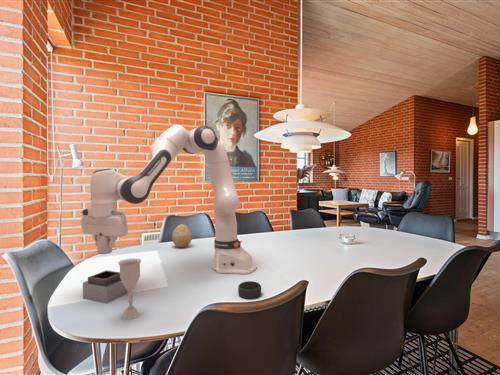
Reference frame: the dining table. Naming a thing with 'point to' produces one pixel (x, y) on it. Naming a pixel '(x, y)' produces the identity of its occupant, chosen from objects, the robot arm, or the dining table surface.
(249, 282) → the smart speaker
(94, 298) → the motor block
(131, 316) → the chalice
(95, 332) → the dining table surface
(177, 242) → the fossilized egg
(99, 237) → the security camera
